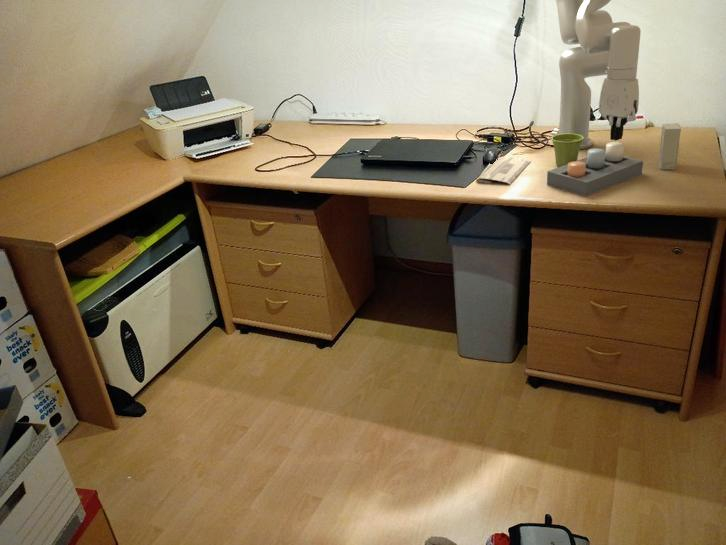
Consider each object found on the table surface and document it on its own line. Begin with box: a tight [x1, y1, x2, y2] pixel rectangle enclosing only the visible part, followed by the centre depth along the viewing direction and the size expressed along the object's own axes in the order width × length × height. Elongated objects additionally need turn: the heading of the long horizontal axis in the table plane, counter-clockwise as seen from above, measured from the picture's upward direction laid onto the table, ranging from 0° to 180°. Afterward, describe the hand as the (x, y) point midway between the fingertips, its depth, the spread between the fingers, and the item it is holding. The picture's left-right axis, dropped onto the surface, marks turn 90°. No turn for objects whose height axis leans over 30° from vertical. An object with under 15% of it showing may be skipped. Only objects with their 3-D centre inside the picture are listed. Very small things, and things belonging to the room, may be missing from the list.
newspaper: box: [475, 156, 531, 186], centre depth 191 cm, size 23×12×2 cm, turn 151°
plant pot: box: [551, 133, 583, 167], centre depth 190 cm, size 9×9×9 cm
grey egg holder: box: [546, 152, 644, 197], centre depth 177 cm, size 14×24×4 cm, turn 122°
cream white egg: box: [605, 141, 625, 161], centre depth 178 cm, size 5×5×4 cm
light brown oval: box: [567, 160, 586, 178], centre depth 172 cm, size 5×5×4 cm
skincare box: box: [658, 122, 682, 170], centre depth 178 cm, size 6×4×12 cm
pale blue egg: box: [586, 148, 606, 168], centre depth 175 cm, size 5×5×4 cm
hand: (616, 139), depth 176 cm, fingers closed
